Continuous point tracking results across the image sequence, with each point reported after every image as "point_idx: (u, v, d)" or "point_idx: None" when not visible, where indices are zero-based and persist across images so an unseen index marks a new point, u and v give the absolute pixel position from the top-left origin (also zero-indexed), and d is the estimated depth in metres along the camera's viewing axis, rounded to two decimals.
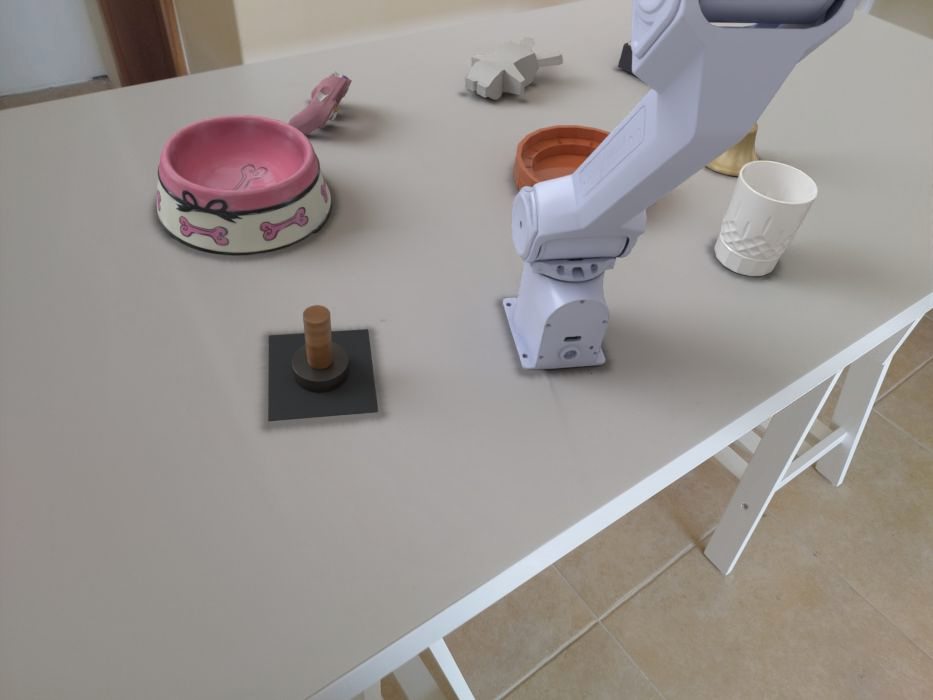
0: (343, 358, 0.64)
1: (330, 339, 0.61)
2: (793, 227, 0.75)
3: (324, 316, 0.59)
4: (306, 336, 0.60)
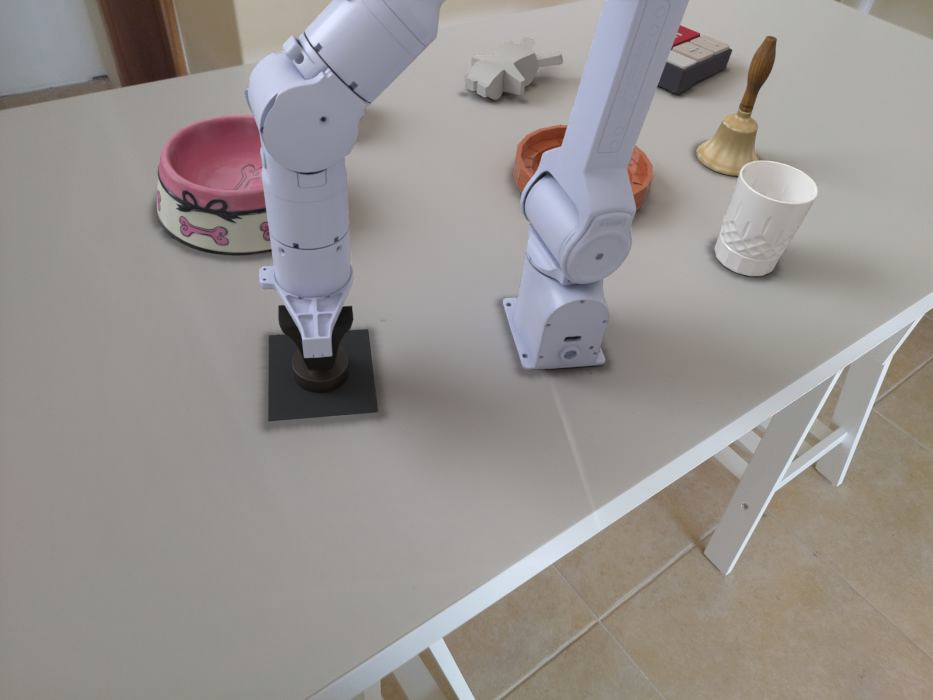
0: (343, 359, 0.64)
1: None
2: (793, 227, 0.75)
3: None
4: None
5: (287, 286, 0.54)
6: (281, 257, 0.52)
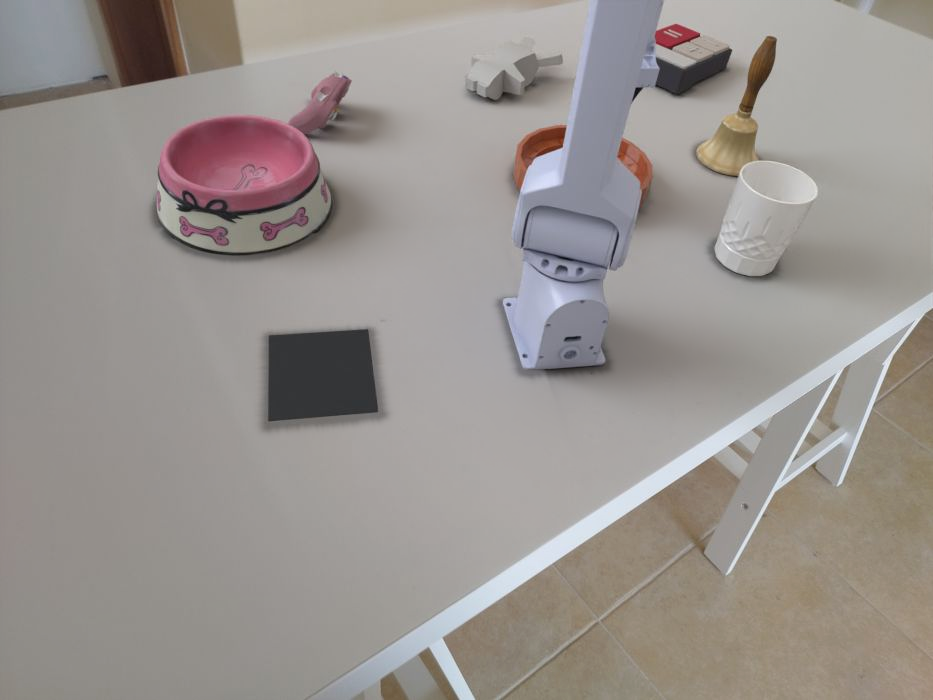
0: None
1: None
2: (793, 227, 0.75)
3: None
4: None
5: None
6: None
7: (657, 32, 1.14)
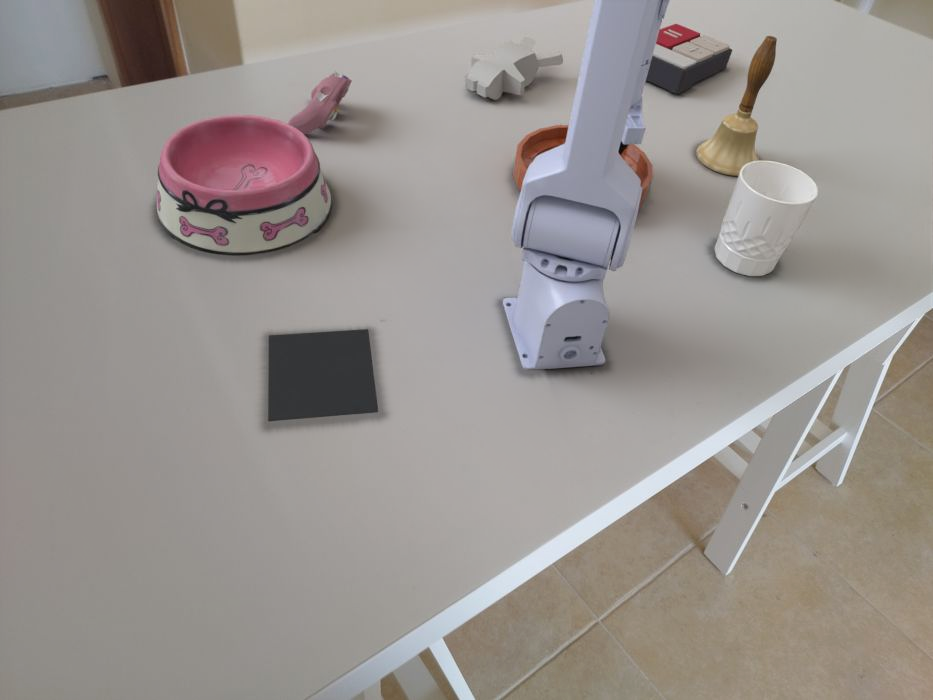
0: None
1: None
2: (793, 227, 0.75)
3: None
4: None
5: None
6: None
7: None
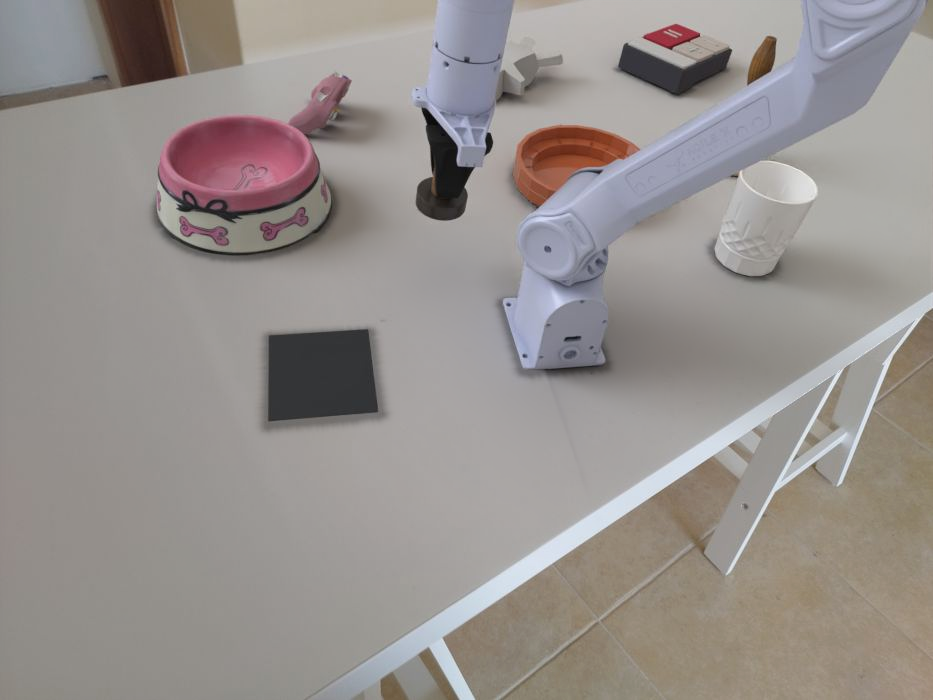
0: (462, 192, 0.69)
1: None
2: (793, 227, 0.75)
3: None
4: None
5: (442, 103, 0.59)
6: (443, 71, 0.58)
7: (657, 32, 1.14)
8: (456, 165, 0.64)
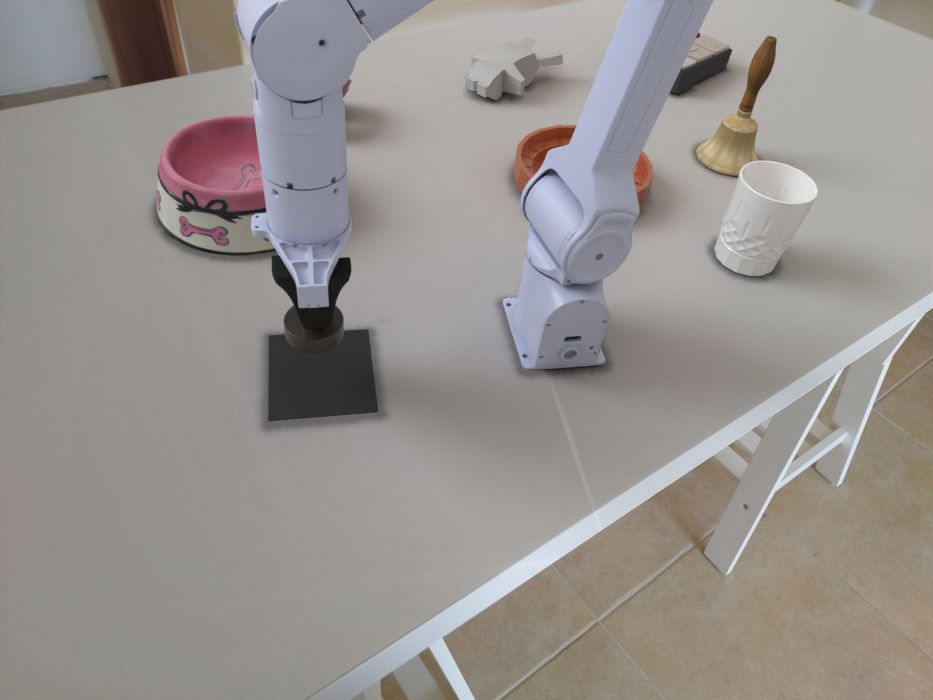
0: (337, 318, 0.60)
1: None
2: (793, 227, 0.75)
3: None
4: None
5: (281, 233, 0.51)
6: (274, 199, 0.49)
7: None
8: None
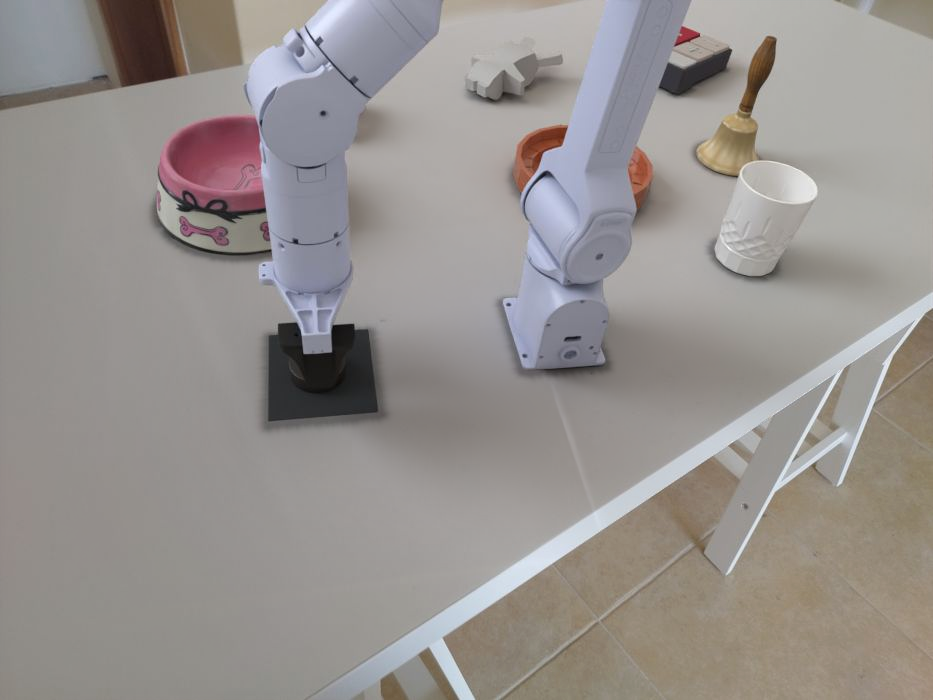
0: None
1: None
2: (793, 227, 0.75)
3: None
4: None
5: (287, 282, 0.54)
6: (280, 252, 0.52)
7: None
8: (322, 358, 0.57)
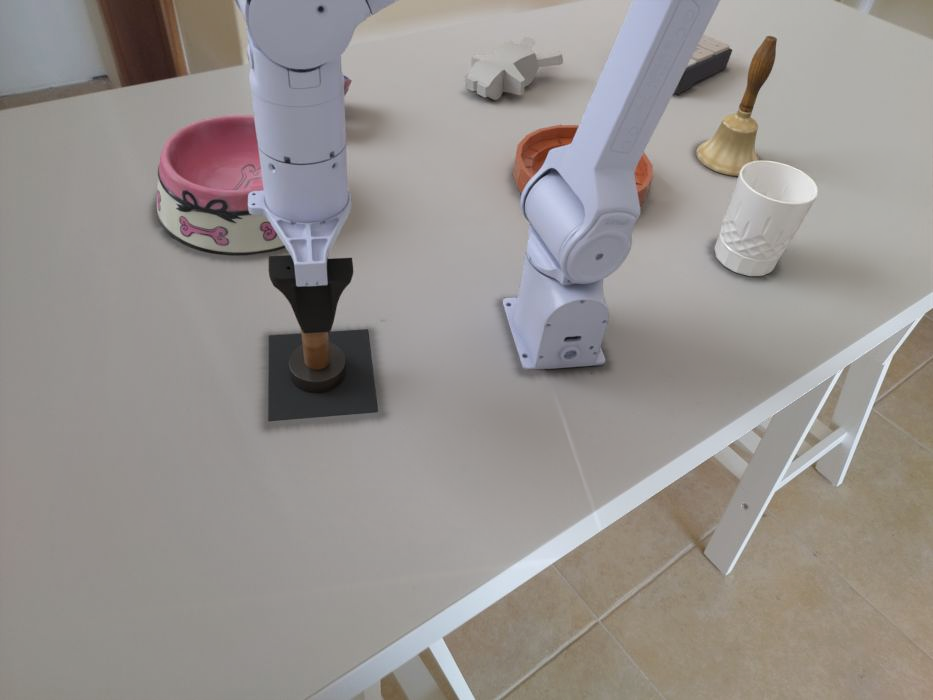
0: (340, 359, 0.64)
1: (327, 340, 0.61)
2: (793, 227, 0.75)
3: None
4: (303, 337, 0.60)
5: (278, 210, 0.49)
6: (271, 174, 0.48)
7: None
8: (317, 297, 0.53)
